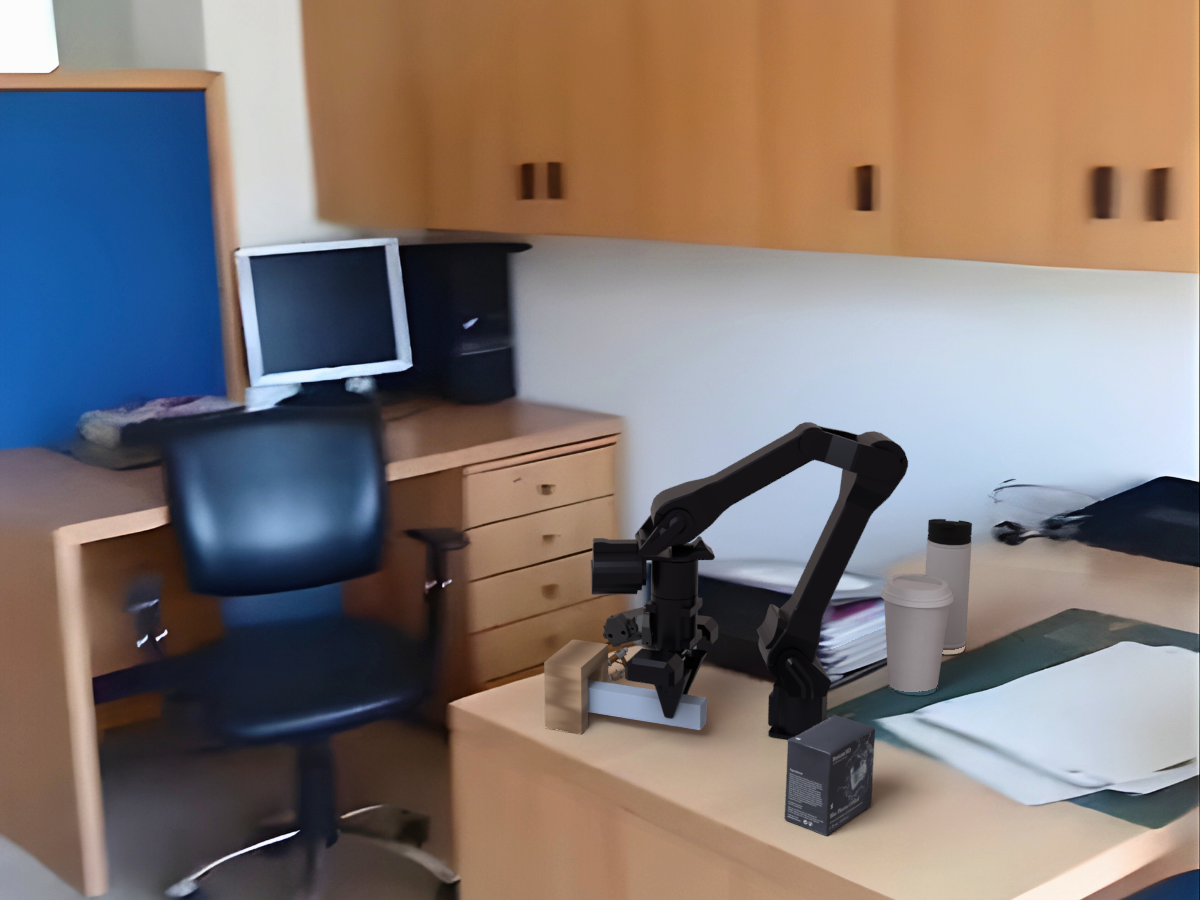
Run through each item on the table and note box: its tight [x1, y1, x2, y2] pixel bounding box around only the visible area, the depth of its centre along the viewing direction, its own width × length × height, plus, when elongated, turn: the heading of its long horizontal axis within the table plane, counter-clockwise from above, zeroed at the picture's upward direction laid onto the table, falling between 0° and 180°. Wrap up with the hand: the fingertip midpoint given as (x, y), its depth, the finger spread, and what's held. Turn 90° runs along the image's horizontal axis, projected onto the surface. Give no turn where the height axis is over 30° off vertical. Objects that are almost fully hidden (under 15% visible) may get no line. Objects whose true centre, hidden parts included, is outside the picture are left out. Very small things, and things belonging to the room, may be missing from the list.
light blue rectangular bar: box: [587, 680, 708, 731], centre depth 156 cm, size 16×3×3 cm, turn 68°
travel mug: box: [925, 518, 973, 650], centre depth 183 cm, size 6×7×20 cm
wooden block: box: [543, 639, 609, 735], centre depth 159 cm, size 5×9×9 cm, turn 158°
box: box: [783, 714, 876, 836], centre depth 134 cm, size 9×6×10 cm, turn 138°
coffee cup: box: [880, 573, 954, 692], centre depth 169 cm, size 10×10×15 cm
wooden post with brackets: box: [608, 647, 629, 682], centre depth 173 cm, size 2×8×4 cm, turn 116°
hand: (672, 713), depth 155 cm, fingers closed on light blue rectangular bar, 3 cm apart
